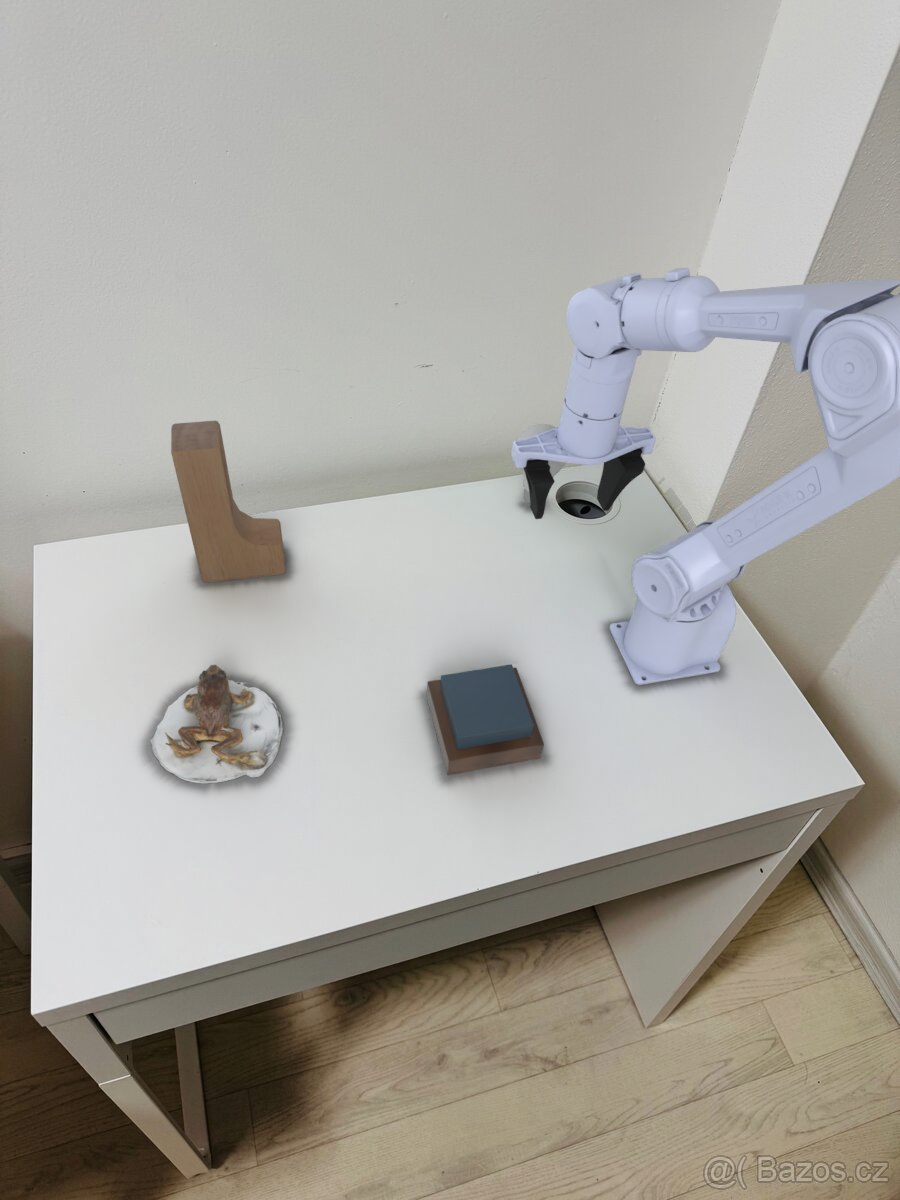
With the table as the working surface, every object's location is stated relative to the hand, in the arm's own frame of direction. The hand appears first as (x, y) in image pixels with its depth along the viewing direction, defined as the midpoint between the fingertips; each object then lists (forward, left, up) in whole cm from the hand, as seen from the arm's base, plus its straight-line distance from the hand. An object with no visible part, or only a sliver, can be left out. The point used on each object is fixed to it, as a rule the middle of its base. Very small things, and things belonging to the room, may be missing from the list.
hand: (569, 508), depth 90 cm
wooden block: (+35, -5, -8) cm, 36 cm away
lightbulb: (0, -10, -8) cm, 13 cm away
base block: (+14, +20, -8) cm, 26 cm away
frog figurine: (+39, +16, -8) cm, 43 cm away
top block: (+14, +20, -6) cm, 25 cm away
